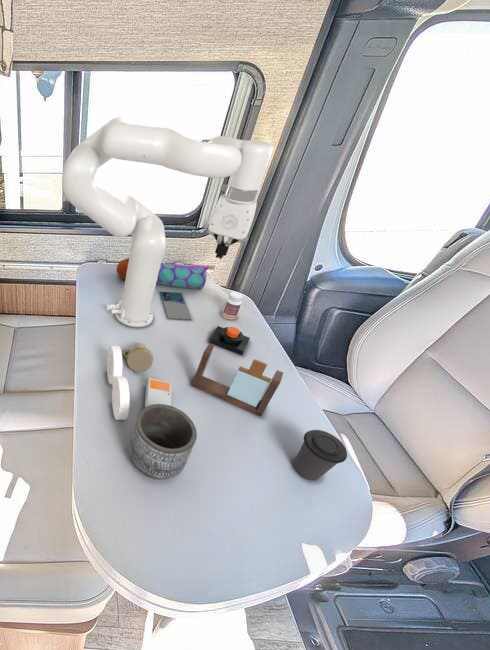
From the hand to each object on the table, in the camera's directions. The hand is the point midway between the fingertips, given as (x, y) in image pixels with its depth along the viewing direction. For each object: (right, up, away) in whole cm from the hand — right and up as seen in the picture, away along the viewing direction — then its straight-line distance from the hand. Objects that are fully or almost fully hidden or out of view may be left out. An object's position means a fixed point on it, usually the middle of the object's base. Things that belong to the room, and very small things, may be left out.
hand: (219, 256), depth 113 cm
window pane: (0, -39, -12) cm, 41 cm away
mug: (-24, -31, 0) cm, 39 cm away
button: (+7, -23, +7) cm, 25 cm away
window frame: (-2, -39, -9) cm, 40 cm away
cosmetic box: (-20, -36, -9) cm, 42 cm away
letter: (-32, -38, -10) cm, 51 cm away
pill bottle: (+12, -17, +20) cm, 29 cm away
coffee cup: (+8, -53, -26) cm, 59 cm away
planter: (-26, -51, -26) cm, 63 cm away
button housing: (+7, -25, +9) cm, 28 cm away
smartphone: (-6, -13, +24) cm, 28 cm away
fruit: (-20, -2, +38) cm, 43 cm away
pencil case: (-2, -5, +35) cm, 36 cm away
